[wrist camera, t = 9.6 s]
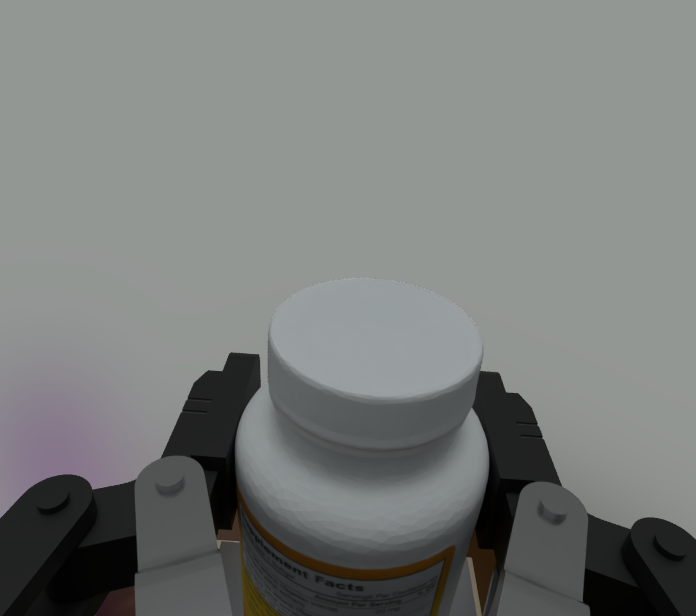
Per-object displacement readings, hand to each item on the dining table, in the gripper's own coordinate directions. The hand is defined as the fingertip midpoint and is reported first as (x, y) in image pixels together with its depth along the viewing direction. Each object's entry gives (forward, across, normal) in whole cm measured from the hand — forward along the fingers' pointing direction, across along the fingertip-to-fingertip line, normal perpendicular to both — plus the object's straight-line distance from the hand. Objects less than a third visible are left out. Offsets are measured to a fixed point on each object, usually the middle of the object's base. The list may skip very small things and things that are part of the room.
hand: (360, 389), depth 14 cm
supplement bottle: (-3, 0, +6) cm, 7 cm away
